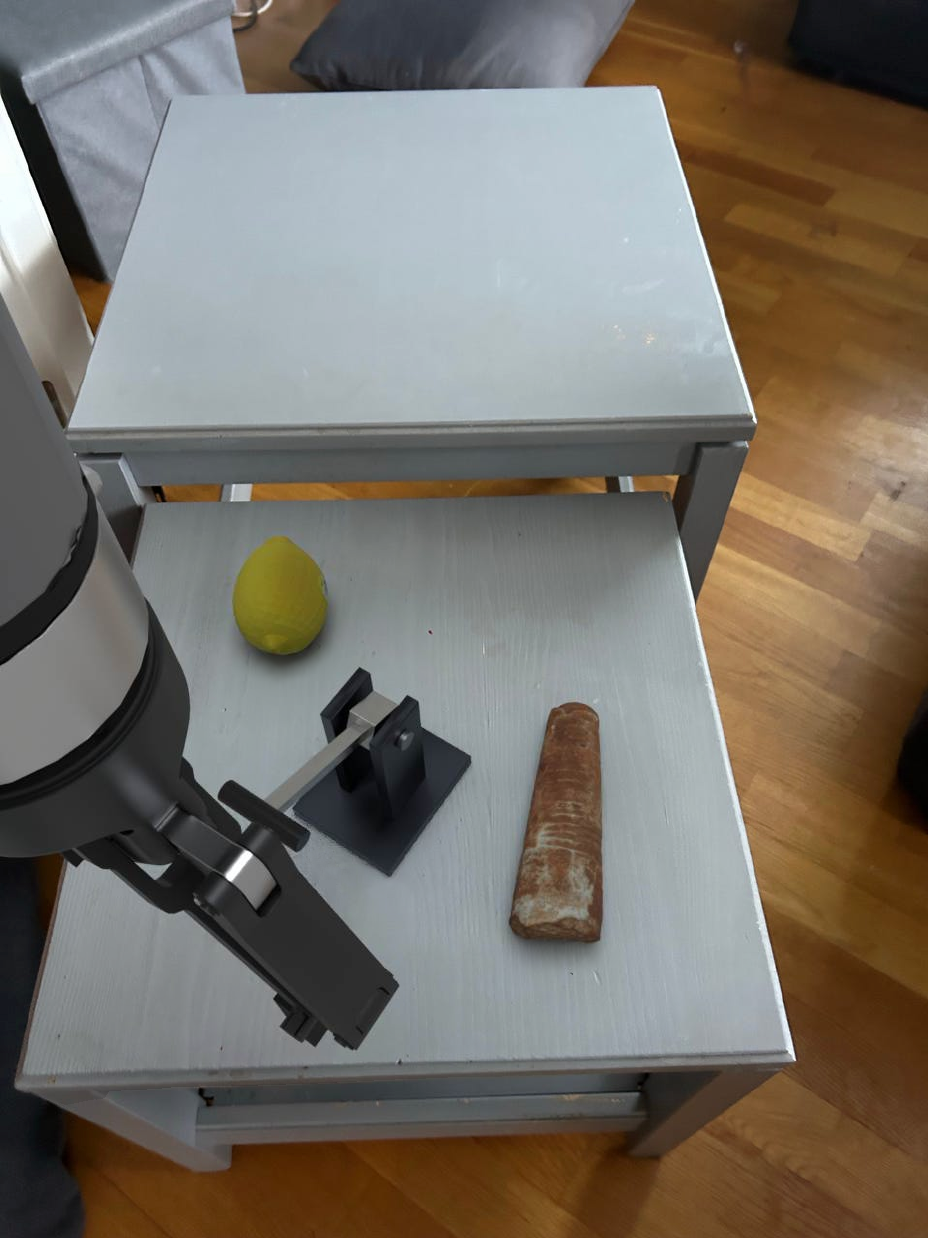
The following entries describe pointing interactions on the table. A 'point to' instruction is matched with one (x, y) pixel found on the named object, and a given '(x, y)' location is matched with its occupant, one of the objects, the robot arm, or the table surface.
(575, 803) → the bread
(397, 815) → the bracket
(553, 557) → the table surface
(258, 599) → the lemon
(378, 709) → the lever
